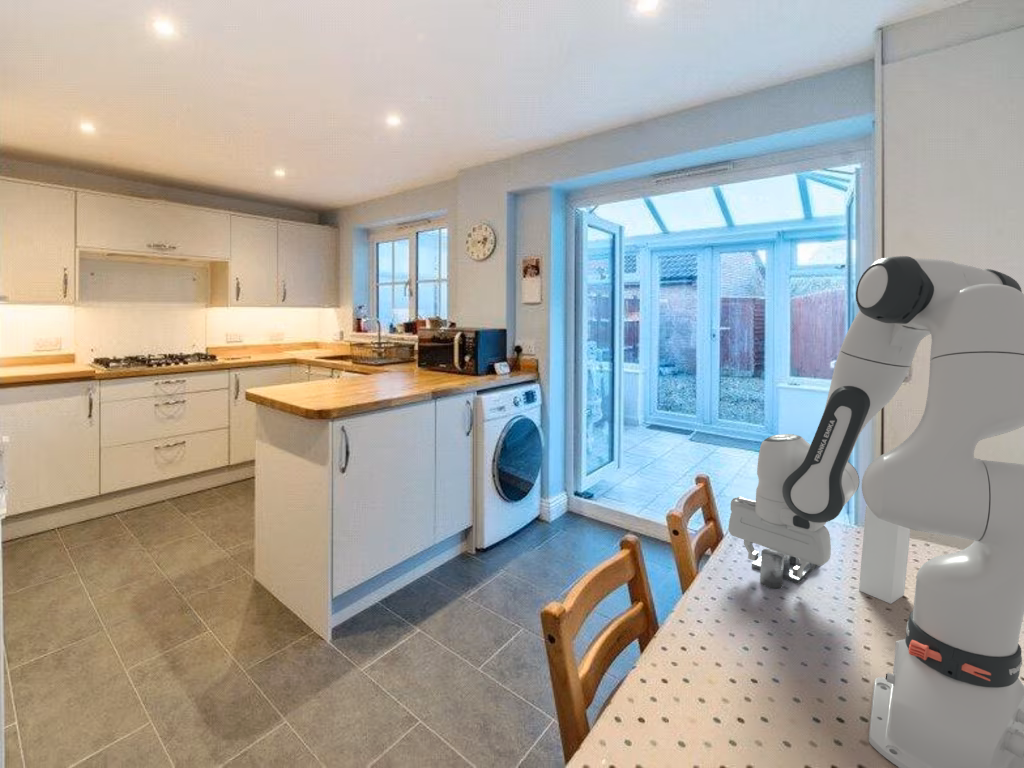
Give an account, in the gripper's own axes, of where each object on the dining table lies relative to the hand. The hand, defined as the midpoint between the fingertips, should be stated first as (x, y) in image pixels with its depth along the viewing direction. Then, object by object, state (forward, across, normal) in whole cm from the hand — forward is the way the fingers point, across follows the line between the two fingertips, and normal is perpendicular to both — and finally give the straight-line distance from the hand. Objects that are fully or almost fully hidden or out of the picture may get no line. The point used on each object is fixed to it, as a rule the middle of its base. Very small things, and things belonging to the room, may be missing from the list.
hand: (774, 567), depth 110 cm
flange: (+4, -1, +11) cm, 12 cm away
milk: (+4, +17, +12) cm, 21 cm away
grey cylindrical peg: (+4, 0, -1) cm, 4 cm away
